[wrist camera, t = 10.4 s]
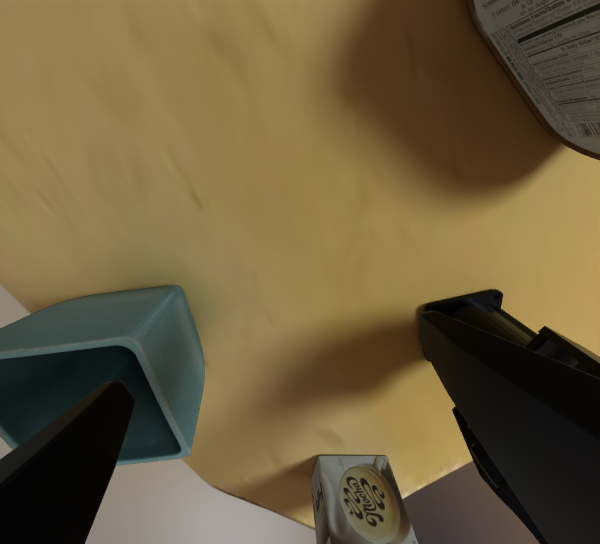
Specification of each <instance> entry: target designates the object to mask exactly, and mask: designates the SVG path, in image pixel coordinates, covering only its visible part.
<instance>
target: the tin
mask: <svg viewBox="0 0 600 544" xmlns="http://www.w3.org/2000/svg"><path fill="white" fill-rule="evenodd" d="M468 3H469V7H470V11H471V14H472V18H473V20H474V23H475V25H476V27H477V29H478V31H479V33H480V34H481V36H482V37H483V39H484V40H485V42H486V43H487V45H488V46H489V48H490V49H491V51H492V52H493V54H494V55H495V57H496V58H497V60H498V61H499V63H500V64H501V65H502V67H503V68H504V70H505V71H506V73H507V75H508V76H509V78H510V79H511V80H512V82H513V83H514V85H515V86H516V88H517V89H518V91H519V92H520V94H521V95H522V97H523V98H524V99H525V101H526V102H527V104H528V105H529V107H530V108H531V110H532V111H533V113H534V114H535V115H536V117H537V118H538V120H539V121H540V123H541V124H542V125H543V126H544V128H545V129H546V130H547V131H548V132H549V133H550V134H551V135H552V136H553V137H555V138H556V139H557V140H558V141H560V142H561V143H563V144H564V145H566V146H567V147H569V148H571V149H573V150H575V151H577V152H579V153H581V154H583V155H586V156H589V157H591V158H594V159H597V160H600V0H468Z"/></svg>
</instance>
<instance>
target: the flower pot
mask: <svg viewBox="0 0 600 544" xmlns="http://www.w3.org/2000/svg"><path fill="white" fill-rule="evenodd" d="M204 379H205V365H204V356H203V351H202V346H201V342H200V339H199V335H198V332H197V329H196V326H195V323H194V320H193V318H192V315H191V312H190V309H189V306H188V302H187V299H186V296H185V293H184V291H183V289H182V288H181V287H180V286H176V285H172V286H163V287H155V288H147V289H138V290H129V291H120V292H110V293H102V294H95V295H89V296H84V297H80V298H75V299H71V300H68V301H64V302H61V303H58V304H55V305H52V306H49V307H47V308H44V309H42V310H40V311H38V312H35V313H33V314H31V315H29V316H26V317H25V318H22V319H20V320H18V321H16V322H14V323H12V324H9V325H7V326H5V327H3V328H1V329H0V437H1V438H2V439H3V440H5V442H6V443H7V444H8V445H9V446H10V447H11V448H12V449H13V450H14V449H15V448H17V447H18V446H19V445H21V444H22V443H23V442H25V441H26V440H27V439H29V438H30V437H31V436H33V435H34V434H35V433H37V432H38V431H39V430H41V429H42V428H44V427H45V426H46V425H48V424H49V423H50V422H52V421H53V420H54V419H56V418H57V417H58V416H60V415H61V414H62V413H64V412H65V411H66V410H68V409H69V408H71V407H72V406H73V405H75V404H76V403H77V402H79V401H80V400H81V399H83V398H84V397H85V396H87V395H88V394H89V393H91V392H92V391H93V390H95V389H96V388H98V387H99V386H100V385H102V384H103V383H106V382H110V381H115V380H119V381H121V382H123V384H124V385H125V386H126V387H127V389H128V390H129V391H130V393H131V394H132V395H133V397H134V399H135V406H134V409H133V413H132V416H131V419H130V422H129V426H128V429H127V432H126V435H125V439H124V442H123V445H122V448H121V452H120V455H119V458H118V461H117V464H116V466H118V465H125V464H135V463H146V462H155V461H162V460H171V459H179V458H182V457H186V456H189V455H190V454H191V449H192V444H193V439H194V434H195V429H196V424H197V419H198V414H199V409H200V404H201V399H202V393H203V388H204Z"/></svg>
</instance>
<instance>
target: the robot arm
mask: <svg viewBox="0 0 600 544" xmlns="http://www.w3.org/2000/svg"><path fill="white" fill-rule="evenodd" d="M502 298H503V293H502V292H500V291H499V290H497V289H494V290H489V291H485V292H480V293H475V294H471V295H466V296H462V297H457V298H453V299H448V300H444V301H439V302H435V303H430V304H428V305H426V307H425V309H424V313H421V314H420V315H419V339H420V342H421V344H422V346H423V350H424V356H425V358H426V359H427V361H429V362H431V363H432V365H433V367H434V369H435V371H436V373H437V375H438V376H439V378H440V380H441V382H442V384H443V386H444V388H445V389H446V391H447V393H448V394H449V396H450V398H451V399H452V401H453V402H454V404H455V405H456V406H455V407H454V408H453V409H452V411H453V413H454V416H455V418H456V420H457V423H458V425H459V428H460V430H461V432H462V435H463V437H464V439H465V442H466V444H467V446H468V449H469V451H470V454H471V456H472V458H473V461H474V463H475V465H476V467H477V469H478V471H479V474H480V476H481V477H482V478H483V480H484V481H485V482H487V484H488V485H489V486H490V487H491V489H492V490H493V491H494V492H495V493H496V495H498V497H499V498H500V499H501V500H502V501H503V502H504V503H505V504H506V505H507V506H508V507H509V508H510V509H511V510H512V511H513V512H514V513H515V514H516V515H517V516H518V517H519V519H520V520H521V521H522V522H523V523H524V524H525V526H527V528H528V529H529V530H530V531H531V533H532V534H533V535H534V536H535V538H536V539H537V540H538V541H539V543H540V544H600V357H599V356H597V355H596V354H594V353H593V352H591V351H589V350H588V349H586V348H584V347H582V346H581V345H579V344H577V343H575V342H573V341H572V340H570V339H568V338H566V337H564V336H563V335H561V334H559V333H557V332H555V331H553V330H552V329H550V328H548V327H546V326H544V327H543V328H542V329H540V330H539V331H538V332H539V334H536V333H535V332H533V331H532V330H531V329H529V328H528V327H526V326H525V325H523V324H522V323H521V322H519V321H518V320H516V319H515V318H513V317H512V316H511V315H509V314H508V313H506V312H505V311H503V310H502V309H501V304H502ZM432 308H433V309H432ZM431 309H432V310H431ZM134 406H135V399H134V397H133V395H132V394H131V393H130V391H129V390H128V389H127V387H126V386H125V385H124V384H123V382H121V381H119V380H115V381H110V382H106V383H103V384H102V385H100V386H99V387H98V388H96V389H95V390H93V391H92V392H91V393H89V394H88V395H87V396H85V397H84V398H83V399H81V400H80V401H79V402H77V403H76V404H75V405H73V406H72V407H71V408H69V409H68V410H66V411H65V412H64V413H62V414H61V415H60V416H58V417H57V418H56V419H54V420H53V421H52V422H50V423H49V424H48V425H46V426H45V427H44V428H42V429H41V430H39V431H38V432H37V433H35V434H34V435H33V436H31V437H30V438H29V439H27V440H26V441H25V442H23V443H22V444H21V445H19V446H18V447H17V448H15V449H14V450H13V451H11V452H10V453H8V454H7V455H6V456H4V457H3V458H2V459H0V544H85V542H86V539H87V537H88V534H89V532H90V529H91V527H92V524H93V522H94V519H95V517H96V514H97V512H98V509H99V507H100V504H101V502H102V499H103V496H104V494H105V491H106V489H107V486H108V484H109V482H110V479H111V476H112V474H113V472H114V469H115V466H116V464H117V461H118V458H119V455H120V452H121V448H122V445H123V442H124V439H125V435H126V432H127V429H128V426H129V422H130V419H131V416H132V413H133V409H134Z"/></svg>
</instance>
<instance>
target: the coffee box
mask: <svg viewBox="0 0 600 544" xmlns="http://www.w3.org/2000/svg"><path fill="white" fill-rule="evenodd" d="M311 489H312V498H313V508H314V519H315V530H316V540H317V544H418V543H417V540H416V537H415V534H414V531H413V528H412V526H411V523H410V520H409V518H408V515H407V512H406V509H405V506H404V503H403V500H402V497H401V494H400V492H399V489H398V486H397V484H396V481H395V478H394V475H393V472H392V469H391V467H390V464H389V461H388V457H387V456H318V459H317V462H316V465H315V468H314V471H313V475H312V478H311Z"/></svg>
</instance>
